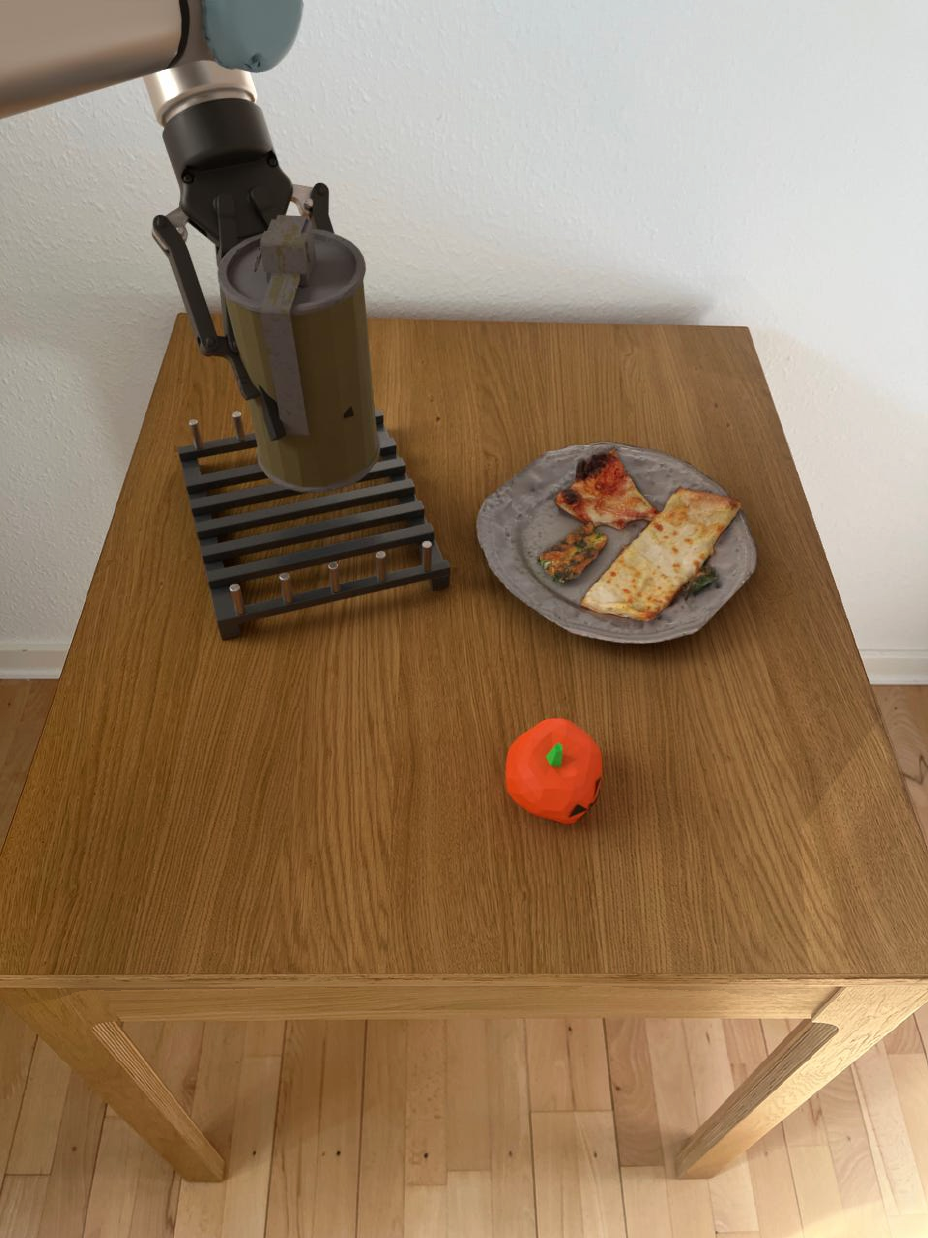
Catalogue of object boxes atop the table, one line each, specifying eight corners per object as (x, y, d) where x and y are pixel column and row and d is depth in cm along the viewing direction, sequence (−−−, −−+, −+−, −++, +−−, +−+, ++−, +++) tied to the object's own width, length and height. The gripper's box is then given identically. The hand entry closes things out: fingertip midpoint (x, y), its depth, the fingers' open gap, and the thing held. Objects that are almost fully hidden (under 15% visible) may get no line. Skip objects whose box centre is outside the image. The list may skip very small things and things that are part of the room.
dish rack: (222, 640, 78) (210, 597, 74) (182, 467, 91) (170, 422, 87) (450, 586, 83) (451, 543, 78) (381, 429, 96) (379, 384, 91)
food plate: (593, 426, 97) (598, 398, 94) (793, 538, 88) (805, 512, 85) (429, 556, 85) (430, 529, 82) (642, 703, 76) (650, 678, 73)
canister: (271, 406, 84) (229, 188, 68) (388, 414, 83) (373, 196, 67) (244, 493, 77) (189, 273, 61) (370, 502, 77) (348, 283, 61)
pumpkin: (601, 749, 73) (615, 703, 68) (593, 843, 68) (607, 801, 63) (510, 733, 74) (517, 687, 69) (495, 826, 69) (501, 783, 64)
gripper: (315, 118, 75) (403, 405, 79) (87, 159, 69) (195, 465, 73) (335, 73, 68) (432, 390, 72) (84, 114, 62) (203, 455, 66)
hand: (312, 427), depth 73 cm, fingers closed on canister, 5 cm apart
